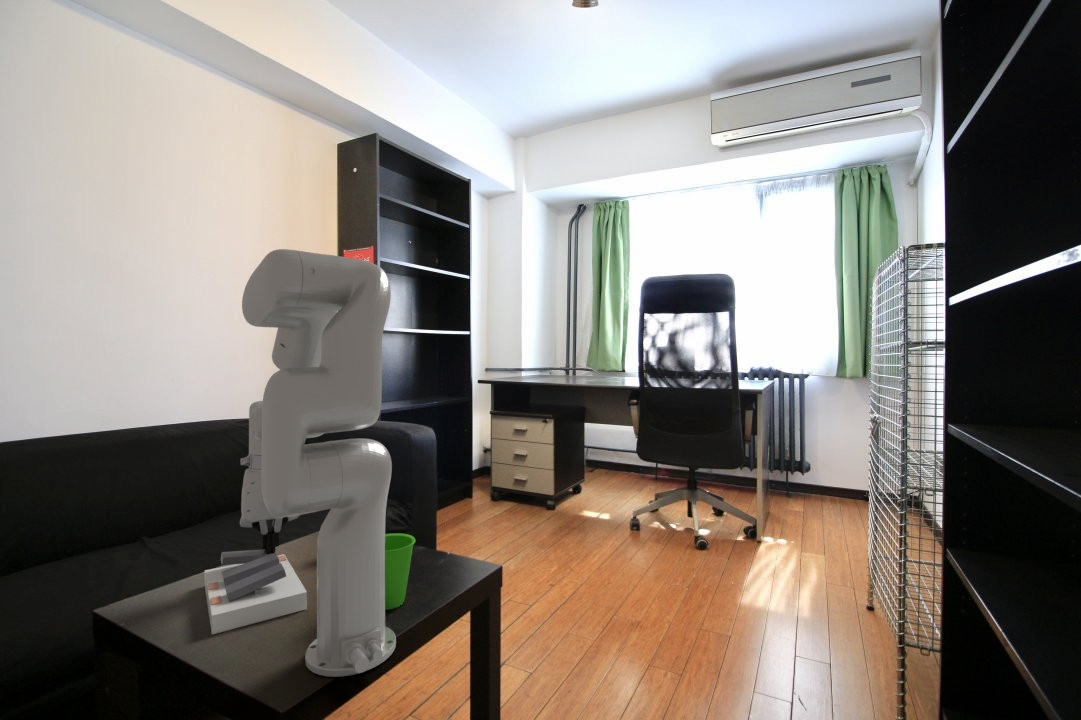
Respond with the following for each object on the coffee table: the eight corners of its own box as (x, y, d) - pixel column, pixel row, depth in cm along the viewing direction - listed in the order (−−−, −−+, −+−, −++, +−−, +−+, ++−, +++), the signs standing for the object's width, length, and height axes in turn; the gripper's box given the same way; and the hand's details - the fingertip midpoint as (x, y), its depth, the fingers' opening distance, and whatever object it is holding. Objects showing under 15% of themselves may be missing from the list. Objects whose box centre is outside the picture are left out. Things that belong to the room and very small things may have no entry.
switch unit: (306, 609, 89) (306, 587, 89) (211, 634, 81) (211, 611, 81) (284, 568, 107) (284, 550, 107) (204, 586, 98) (204, 566, 98)
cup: (426, 599, 92) (426, 538, 92) (387, 620, 85) (386, 554, 85) (392, 587, 97) (392, 530, 97) (352, 607, 89) (352, 544, 90)
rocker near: (286, 576, 90) (284, 569, 90) (228, 601, 85) (226, 594, 85) (282, 569, 93) (280, 562, 93) (226, 594, 88) (224, 586, 88)
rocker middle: (279, 565, 96) (278, 558, 96) (224, 585, 91) (223, 578, 91) (276, 559, 99) (275, 552, 99) (223, 579, 94) (221, 571, 93)
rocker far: (274, 561, 102) (275, 554, 102) (221, 565, 96) (223, 557, 97) (271, 555, 105) (272, 548, 105) (220, 559, 99) (221, 552, 99)
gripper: (228, 468, 96) (228, 566, 96) (313, 460, 104) (313, 549, 104) (225, 462, 102) (225, 553, 102) (306, 454, 110) (306, 538, 110)
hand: (270, 551), depth 103 cm, fingers closed
